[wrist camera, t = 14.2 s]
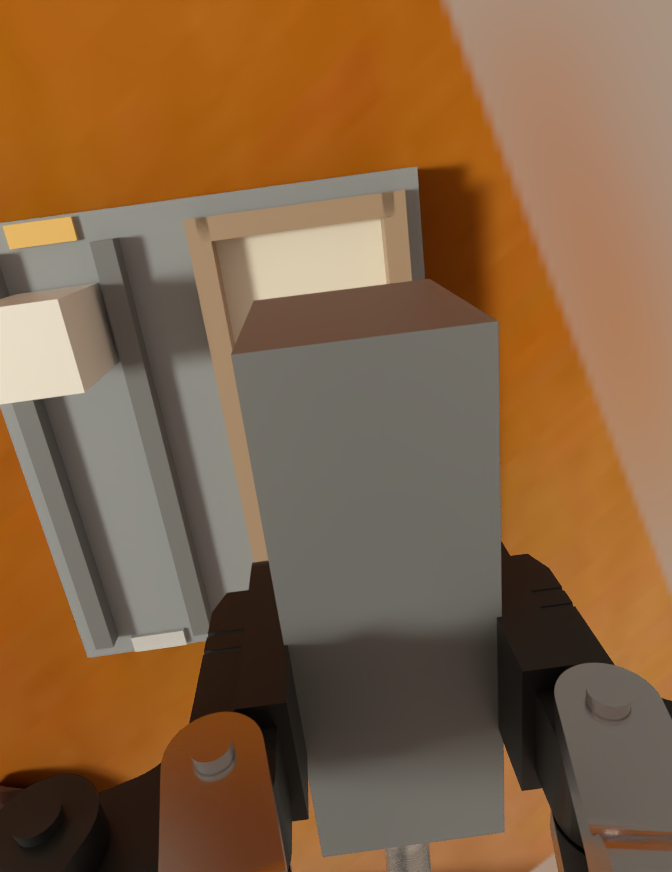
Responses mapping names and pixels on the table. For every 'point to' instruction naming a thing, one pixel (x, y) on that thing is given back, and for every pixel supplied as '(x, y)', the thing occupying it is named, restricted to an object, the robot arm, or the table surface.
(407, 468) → the grey block with bolt
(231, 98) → the table surface
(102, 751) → the table surface
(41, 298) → the switch tab
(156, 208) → the switch board
